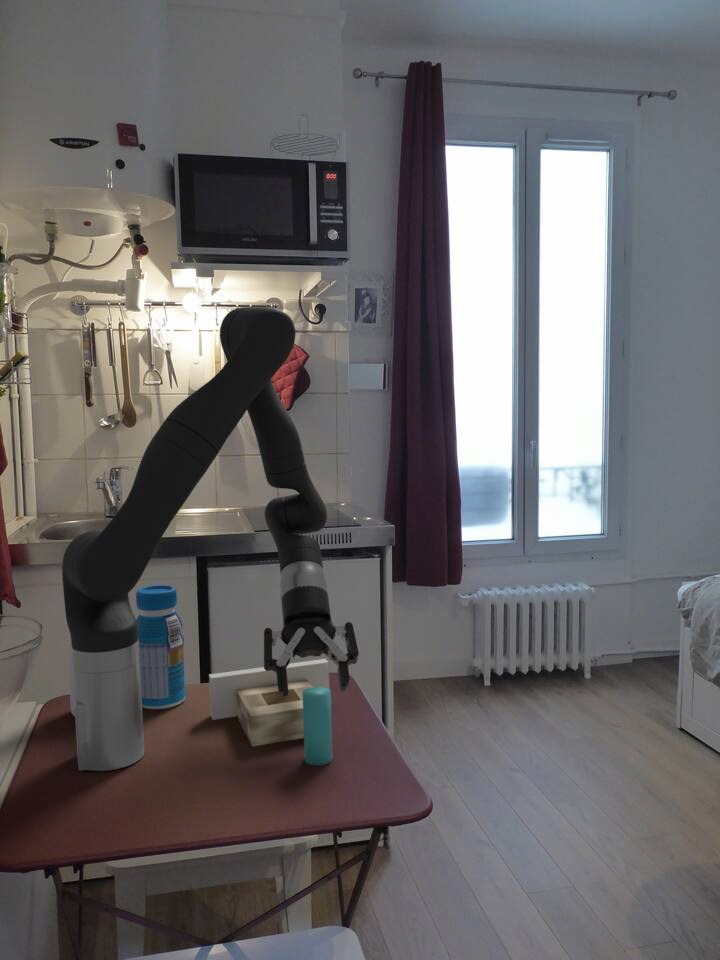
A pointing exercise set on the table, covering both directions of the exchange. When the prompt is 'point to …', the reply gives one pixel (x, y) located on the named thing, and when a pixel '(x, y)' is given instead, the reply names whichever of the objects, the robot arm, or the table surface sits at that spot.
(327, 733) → the teal rounded cylinder
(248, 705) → the socket block
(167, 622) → the beverage bottle
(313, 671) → the backstop wall
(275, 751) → the table surface
